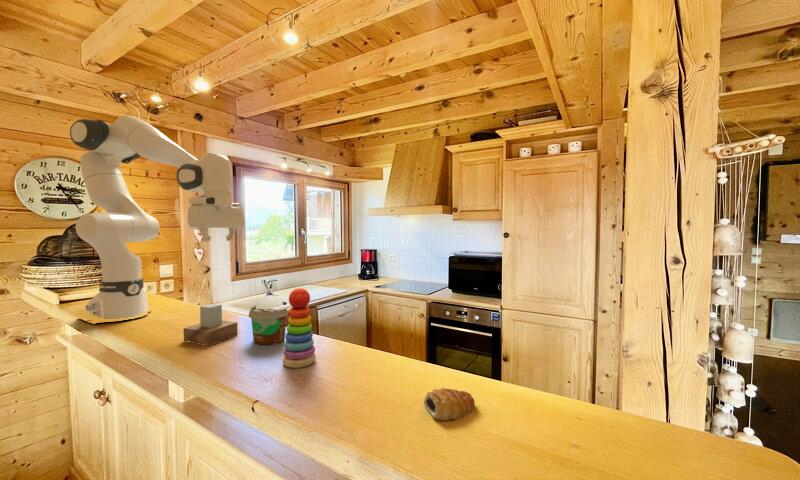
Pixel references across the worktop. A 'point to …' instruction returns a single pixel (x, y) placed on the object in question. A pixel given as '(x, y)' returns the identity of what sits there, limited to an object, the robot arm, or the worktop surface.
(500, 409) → the worktop surface
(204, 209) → the robot arm
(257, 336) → the food container
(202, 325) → the blue-grey block
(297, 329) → the stacking toy
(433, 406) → the pastry
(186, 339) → the walnut base
